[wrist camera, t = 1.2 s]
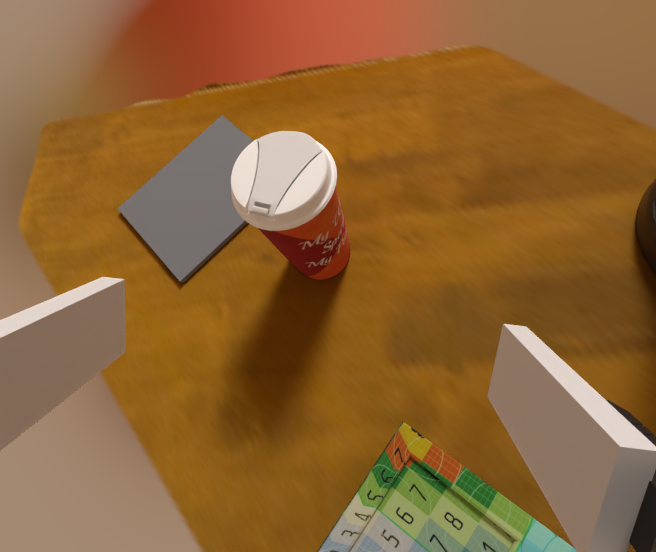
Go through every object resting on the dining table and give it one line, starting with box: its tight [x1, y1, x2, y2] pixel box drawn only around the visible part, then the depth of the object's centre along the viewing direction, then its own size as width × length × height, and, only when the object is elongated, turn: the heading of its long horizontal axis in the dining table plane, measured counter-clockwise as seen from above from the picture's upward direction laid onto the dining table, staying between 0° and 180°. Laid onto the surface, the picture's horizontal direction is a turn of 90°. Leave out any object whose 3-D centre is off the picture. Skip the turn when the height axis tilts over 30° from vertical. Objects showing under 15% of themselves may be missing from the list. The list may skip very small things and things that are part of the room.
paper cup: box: [231, 131, 350, 280], centre depth 35 cm, size 8×8×14 cm
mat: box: [118, 115, 253, 283], centre depth 47 cm, size 16×13×1 cm
